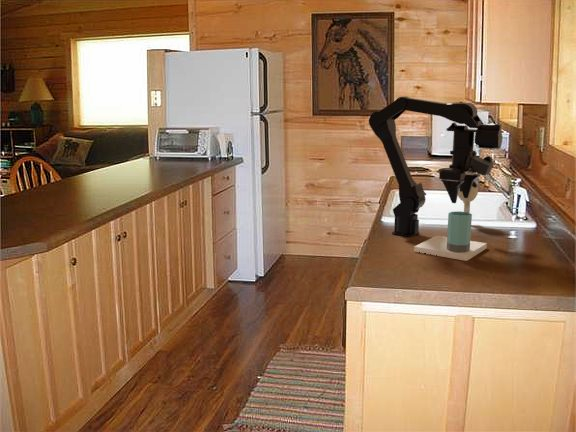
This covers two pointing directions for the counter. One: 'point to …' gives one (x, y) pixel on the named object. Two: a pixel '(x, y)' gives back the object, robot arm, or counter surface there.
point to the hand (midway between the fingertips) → (460, 200)
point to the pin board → (439, 248)
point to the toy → (470, 198)
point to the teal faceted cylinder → (459, 231)
